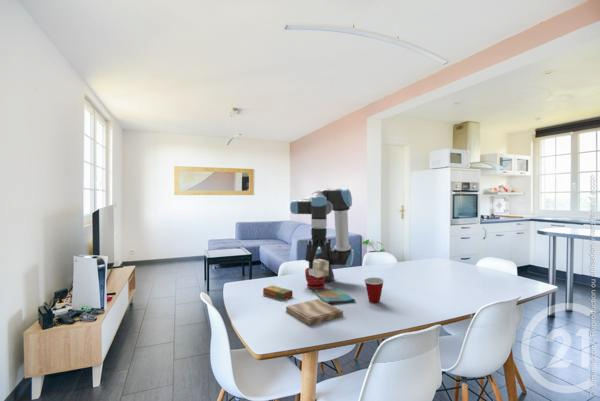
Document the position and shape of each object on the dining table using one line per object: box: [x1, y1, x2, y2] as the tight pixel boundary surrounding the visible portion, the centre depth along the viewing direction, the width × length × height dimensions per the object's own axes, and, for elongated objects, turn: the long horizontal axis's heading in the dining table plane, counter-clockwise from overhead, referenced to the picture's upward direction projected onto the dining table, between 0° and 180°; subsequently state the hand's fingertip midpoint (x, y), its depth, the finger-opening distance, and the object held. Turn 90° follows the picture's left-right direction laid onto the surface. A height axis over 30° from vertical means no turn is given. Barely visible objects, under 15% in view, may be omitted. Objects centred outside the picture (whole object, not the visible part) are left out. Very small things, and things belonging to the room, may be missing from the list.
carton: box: [262, 284, 294, 301], centre depth 170 cm, size 8×16×4 cm, turn 51°
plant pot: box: [304, 267, 326, 290], centre depth 187 cm, size 13×13×12 cm
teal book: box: [313, 287, 356, 306], centre depth 169 cm, size 17×23×2 cm
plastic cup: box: [363, 277, 385, 304], centre depth 162 cm, size 11×11×12 cm
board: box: [285, 298, 344, 327], centre depth 144 cm, size 20×20×3 cm
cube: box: [308, 258, 329, 278], centre depth 144 cm, size 7×7×7 cm
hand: (318, 274), depth 144 cm, fingers closed on cube, 7 cm apart
